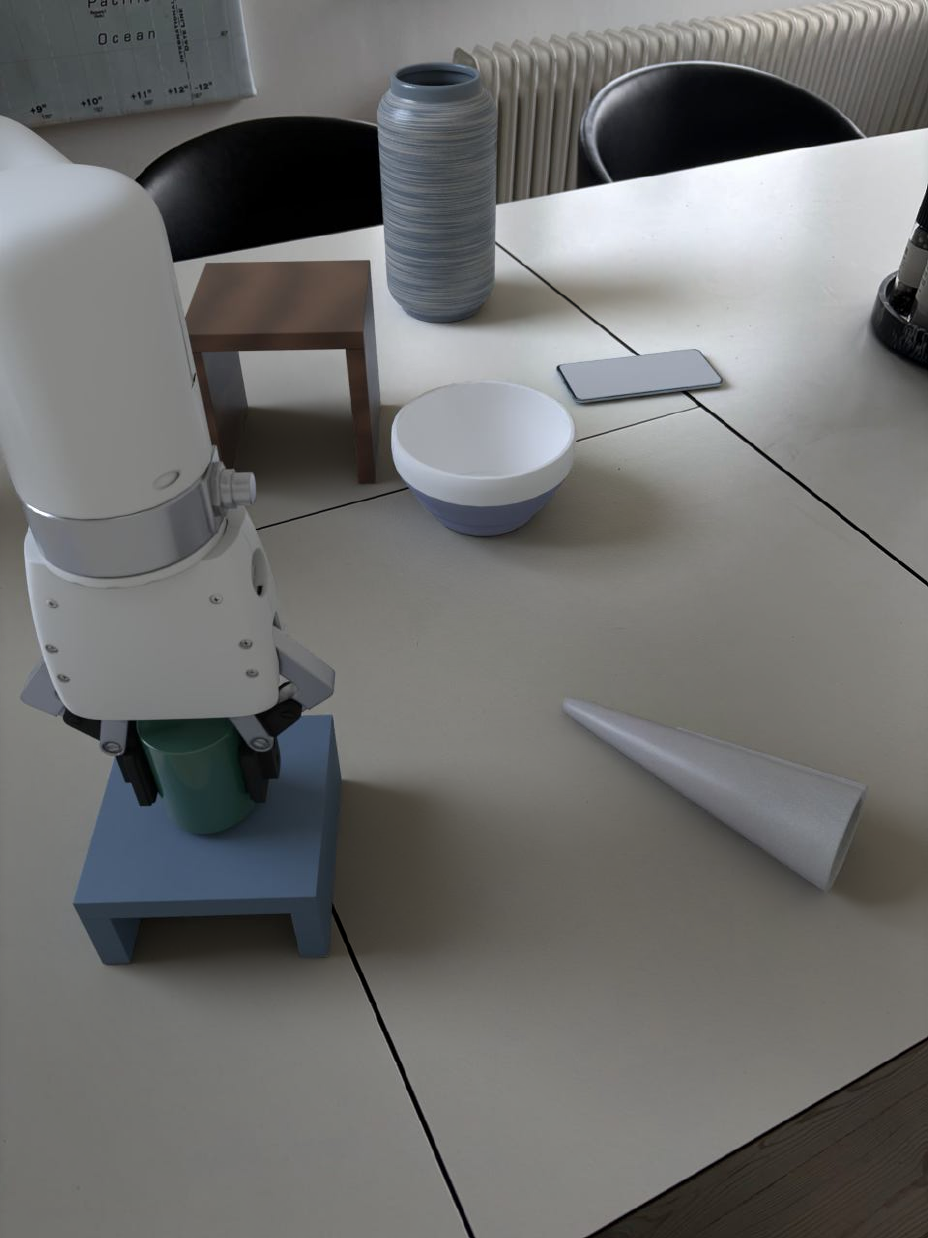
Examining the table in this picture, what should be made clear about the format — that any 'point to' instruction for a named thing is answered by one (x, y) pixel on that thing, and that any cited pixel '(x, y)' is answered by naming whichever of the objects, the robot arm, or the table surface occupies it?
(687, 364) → the smartphone
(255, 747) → the robot arm
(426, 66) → the vase
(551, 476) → the bowl
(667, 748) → the long tapered cone
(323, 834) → the lower shelf
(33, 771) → the table surface
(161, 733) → the jar
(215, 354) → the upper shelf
